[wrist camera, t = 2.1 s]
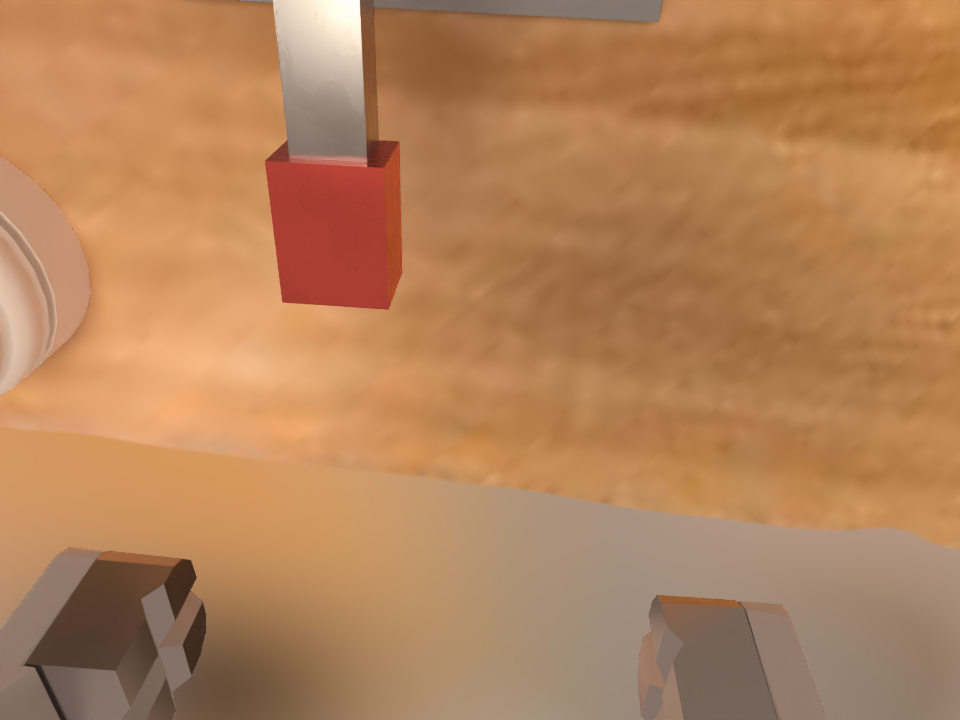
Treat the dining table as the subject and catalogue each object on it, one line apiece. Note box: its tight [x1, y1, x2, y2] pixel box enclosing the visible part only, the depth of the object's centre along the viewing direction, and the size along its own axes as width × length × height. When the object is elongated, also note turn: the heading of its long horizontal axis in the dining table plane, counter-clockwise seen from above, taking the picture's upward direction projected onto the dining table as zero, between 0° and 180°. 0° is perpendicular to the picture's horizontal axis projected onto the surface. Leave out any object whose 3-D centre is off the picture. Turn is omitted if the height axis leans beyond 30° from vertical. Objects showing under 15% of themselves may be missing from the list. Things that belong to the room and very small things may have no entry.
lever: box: [265, 0, 402, 309], centre depth 17 cm, size 14×4×2 cm, turn 178°
